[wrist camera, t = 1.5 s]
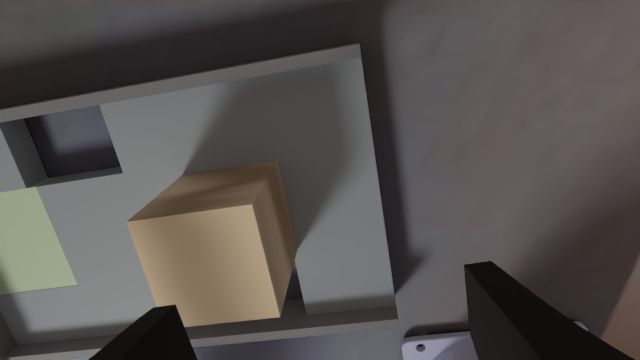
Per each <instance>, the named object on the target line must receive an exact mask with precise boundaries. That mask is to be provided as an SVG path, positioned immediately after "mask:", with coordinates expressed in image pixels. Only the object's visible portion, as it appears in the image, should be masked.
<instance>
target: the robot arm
mask: <svg viewBox="0 0 640 360" xmlns="http://www.w3.org/2000/svg"><path fill="white" fill-rule="evenodd" d="M464 271H465V282H466V294H467V305H468V317H469V328H470V331H467V332H456V333H445V334H434V335H424V336H413V337H407V338H405V339H403V341H402V343H401V347H402V354H403V360H634V359H633V358H631V357H629V356H627V355H626V354H624V353H622V352H621V351H619V350H617V349H615V348H614V347H612V346H610V345H609V344H607V343H606V342H604V341H602V340H601V339H599V338H598V337H596V336H595V335H593V334H591V333H590V332H588V329H587V328H586V326H585V325H584V324H583V323H581V322H577V321H574V322H573V321H571V320H570V319H568V318H567V317H565V316H564V315H563V314H561V313H560V312H558V311H557V310H556V309H554V308H553V307H551V306H550V305H548V304H547V303H546V302H544V301H543V300H542V299H540V298H539V297H537V296H536V295H535V294H533V293H532V292H531V291H529V290H528V289H527V288H525V287H524V286H523V285H521V284H520V283H519V282H518V281H516V280H515V279H514V278H512V277H511V276H510V275H509V274H507V273H506V272H505V271H503V270H502V269H501V268H499V267H498V266H497V265H495V264H494V263H493V262H491V261H488V262H480V263H473V264H466V265H464ZM418 344H423V346H421V347H418V346H417V345H418ZM89 360H197V358H196V355H195V352H194V350H193V347H192V345H191V342H190V340H189V337H188V335H187V332H186V330H185V327H184V325H183V322H182V319H181V317H180V314H179V312H178V309H177V307H176V304H175V305H168V306H161V307H153V308H152V309H151V310H149V311H148V312H146V313H145V314H144V315H142V316H141V317H140V318H138V319H137V320H136V321H135V322H133V323H132V324H131V325H130V326H128V327H127V328H126V329H125V330H124V331H122V332H121V333H120V334H119V335H118V336H116V337H115V338H114V339H113V340H112V341H110V342H109V343H108V344H107V345H106V346H104V347H103V348H102V349H101V350H99V351H98V352H97V353H96V354H95V355H93V356H92V357H91V358H90V359H89Z"/></svg>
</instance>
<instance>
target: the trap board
mask: <svg viewBox="0 0 640 360" xmlns="http://www.w3.org/2000/svg"><path fill="white" fill-rule="evenodd" d="M95 105H100V108H101V111H102V114H103V117H104V120H105V123H106V125H107V128H108V131H109V134H110V137H111V140H112V143H113V145H114V148H115V151H116V154H117V157H118V160H119V163H120V166H121V167H114V168H108V169H102V170H95V171H89V172H83V173H76V174H70V175H64V176H58V177H51V178H48V176H47V174H46V171H45V169H44V167H43V164H42V162H41V159H40V157H39V154H38V152H37V150H36V147H35V145H34V142H33V140H32V137H31V135H30V133H29V130H28V128H27V125H26V123H25V120H24V118H29V117H34V116H40V115H45V114H51V113H56V112H62V111H68V110H73V109H79V108H84V107H90V106H95ZM276 160H278V164H279V168H280V173H281V177H282V182H283V186H284V191H285V195H286V200H287V205H288V209H289V214H290V218H291V223H292V227H293V232H294V236H295V241H296V246H297V253H296V257H295V264H296V269H297V273H298V278H299V282H300V287H301V291H302V296H303V298H299V299H290V300H285V301H284V305H283V309H282V312H281V316H280V317H277V318H267V319H258V320H248V321H238V322H229V323H219V324H209V325H199V326H190V327H185V330H186V332H187V335H188V337H189V340H190V342H191V345H192V347H193V348H194V347H205V346H215V345H225V344H236V343H246V342H257V341H267V340H278V339H288V338H298V337H309V336H319V335H330V334H340V333H350V332H361V331H371V330H382V329H392V328H399V321H398V315H397V309H396V302H395V295H394V288H393V281H392V273H391V266H390V259H389V252H388V245H387V238H386V231H385V224H384V216H383V209H382V202H381V195H380V188H379V181H378V174H377V167H376V159H375V152H374V145H373V138H372V131H371V124H370V117H369V110H368V102H367V95H366V88H365V81H364V74H363V67H362V60H361V50H360V44H359V42H358V43H352V44H347V45H341V46H336V47H331V48H325V49H320V50H314V51H309V52H304V53H298V54H293V55H287V56H282V57H277V58H271V59H266V60H260V61H255V62H250V63H244V64H239V65H233V66H228V67H223V68H217V69H212V70H206V71H201V72H196V73H190V74H185V75H179V76H174V77H169V78H163V79H158V80H152V81H147V82H142V83H136V84H131V85H125V86H120V87H115V88H109V89H104V90H98V91H93V92H88V93H82V94H77V95H71V96H66V97H61V98H55V99H50V100H44V101H39V102H34V103H28V104H23V105H17V106H12V107H7V108H1V109H0V360H69V359H80V358H90V357H92V356H93V355H95V354H96V353H97V352H98V351H99V350H101V349H102V348H103V347H104V346H106V345H107V344H108V343H109V342H110V341H112V340H113V339H114V338H115V337H116V336H118V335H119V334H120V333H121V332H122V331H124V330H125V329H126V328H127V327H128V326H130V325H131V324H132V323H133V322H135V321H136V320H137V319H138V318H140V317H141V316H142V315H144V314H145V313H146V312H148V311H149V310H151V309H152V308H153V307H157V306H156V303H155V301H154V298H153V295H152V292H151V289H150V287H149V284H148V281H147V278H146V276H145V273H144V270H143V267H142V265H141V262H140V259H139V256H138V253H137V251H136V248H135V245H134V242H133V240H132V237H131V234H130V231H129V229H128V226H127V223H126V222H127V221H128V220H129V219H130V218H131V217H133V216H134V215H135V214H136V213H137V212H139V211H140V210H141V209H142V208H143V207H145V206H146V205H147V204H148V203H149V202H150V201H152V200H153V199H154V198H155V197H156V196H158V195H159V194H160V193H161V192H162V191H164V190H165V189H166V188H167V187H168V186H170V185H171V184H172V183H173V182H174V181H176V180H177V179H178V178H179V177H180V176H182V175H185V174H191V173H198V172H204V171H211V170H217V169H224V168H231V167H237V166H244V165H250V164H257V163H263V162H270V161H276Z"/></svg>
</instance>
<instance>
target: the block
mask: <svg viewBox="0 0 640 360" xmlns="http://www.w3.org/2000/svg"><path fill="white" fill-rule="evenodd" d="M126 223H127V226H128V229H129V231H130V234H131V237H132V240H133V242H134V245H135V248H136V251H137V253H138V256H139V259H140V262H141V265H142V267H143V270H144V273H145V276H146V278H147V281H148V284H149V287H150V289H151V292H152V295H153V298H154V301H155V303H156V306H157V307H161V306H168V305H175V304H176V307H177V309H178V312H179V314H180V317H181V319H182V322H183V325H184V327H190V326H199V325H209V324H219V323H229V322H238V321H248V320H258V319H267V318H277V317H280V316H281V312H282V309H283V305H284V301H285V297H286V293H287V289H288V285H289V281H290V277H291V273H292V269H293V265H294V261H295V257H296V253H297V246H296V241H295V236H294V232H293V227H292V223H291V218H290V214H289V209H288V205H287V200H286V195H285V191H284V186H283V182H282V177H281V173H280V168H279V164H278V160H276V161H270V162H263V163H257V164H250V165H244V166H237V167H231V168H224V169H217V170H211V171H204V172H198V173H191V174H185V175H182V176H180V177H179V178H178V179H177V180H176V181H174V182H173V183H172V184H171V185H170V186H168V187H167V188H166V189H165V190H164V191H162V192H161V193H160V194H159V195H158V196H156V197H155V198H154V199H153V200H152V201H150V202H149V203H148V204H147V205H146V206H145V207H143V208H142V209H141V210H140V211H139V212H137V213H136V214H135V215H134V216H133V217H131V218H130V219H129V220H128V221H127V222H126Z"/></svg>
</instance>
